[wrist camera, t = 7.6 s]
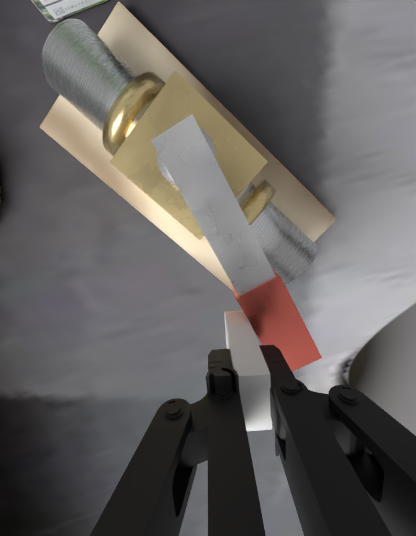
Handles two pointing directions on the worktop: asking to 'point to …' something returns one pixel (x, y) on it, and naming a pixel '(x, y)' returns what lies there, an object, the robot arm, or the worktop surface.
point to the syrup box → (63, 7)
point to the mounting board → (98, 161)
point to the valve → (158, 121)
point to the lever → (233, 240)
